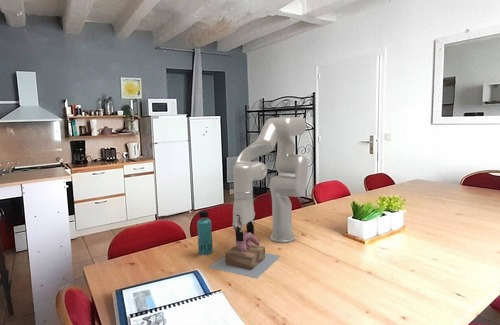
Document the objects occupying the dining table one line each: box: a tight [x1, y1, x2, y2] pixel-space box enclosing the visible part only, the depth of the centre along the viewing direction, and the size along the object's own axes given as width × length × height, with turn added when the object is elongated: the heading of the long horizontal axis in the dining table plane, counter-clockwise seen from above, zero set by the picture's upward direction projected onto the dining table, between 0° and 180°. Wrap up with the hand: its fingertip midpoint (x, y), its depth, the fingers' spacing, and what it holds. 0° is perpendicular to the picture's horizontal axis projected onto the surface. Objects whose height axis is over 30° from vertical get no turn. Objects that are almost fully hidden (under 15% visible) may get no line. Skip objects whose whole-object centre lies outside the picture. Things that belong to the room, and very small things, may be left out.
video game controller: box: [235, 232, 260, 253], centre depth 132 cm, size 10×5×7 cm, turn 142°
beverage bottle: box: [196, 210, 214, 256], centre depth 143 cm, size 6×7×20 cm
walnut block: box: [224, 244, 266, 270], centre depth 133 cm, size 12×12×5 cm
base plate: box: [208, 252, 282, 279], centre depth 133 cm, size 22×22×2 cm
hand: (245, 237), depth 132 cm, fingers closed on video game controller, 8 cm apart
